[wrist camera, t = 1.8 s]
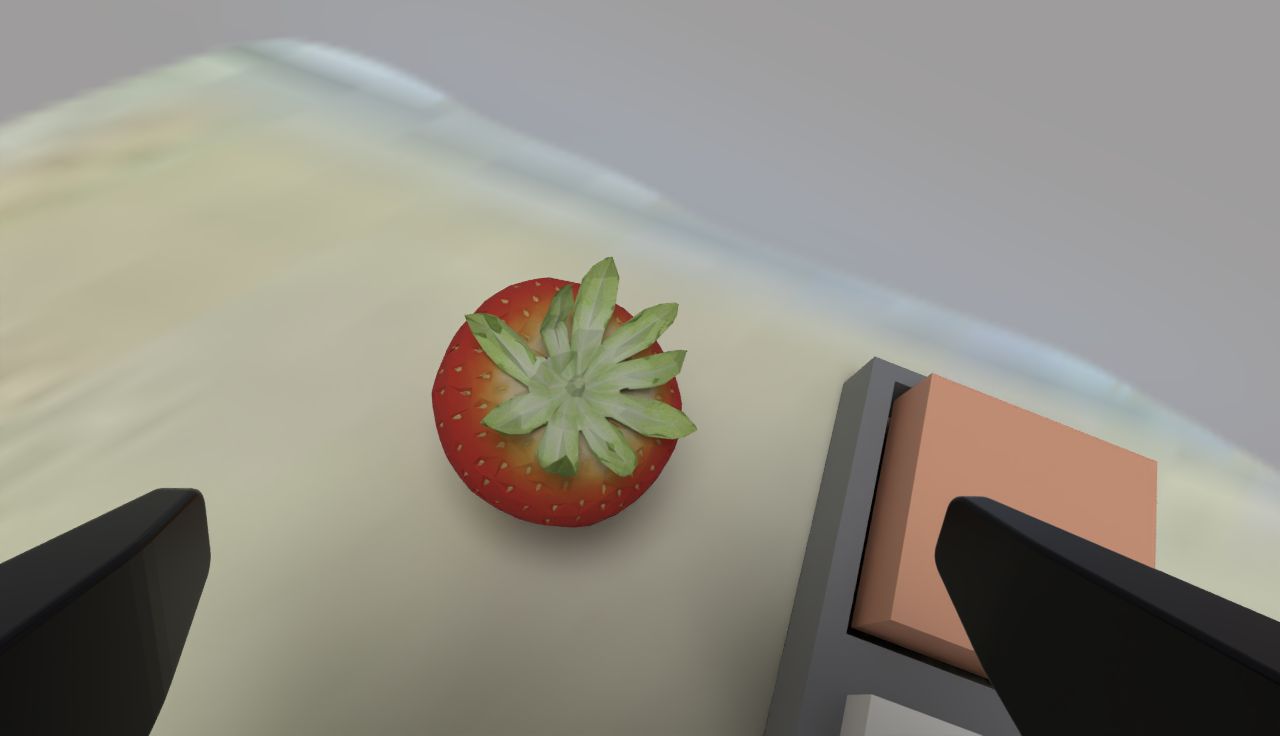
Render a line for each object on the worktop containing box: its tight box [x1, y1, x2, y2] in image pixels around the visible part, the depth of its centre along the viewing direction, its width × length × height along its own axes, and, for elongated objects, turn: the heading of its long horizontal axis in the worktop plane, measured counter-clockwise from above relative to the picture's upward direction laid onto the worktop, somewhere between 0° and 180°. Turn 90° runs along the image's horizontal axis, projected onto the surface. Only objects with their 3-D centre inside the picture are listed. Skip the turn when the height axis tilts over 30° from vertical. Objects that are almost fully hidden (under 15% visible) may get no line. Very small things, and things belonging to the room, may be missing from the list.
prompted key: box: [851, 373, 1157, 679], centre depth 19 cm, size 6×6×2 cm
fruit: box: [432, 257, 697, 527], centre depth 17 cm, size 5×5×8 cm
